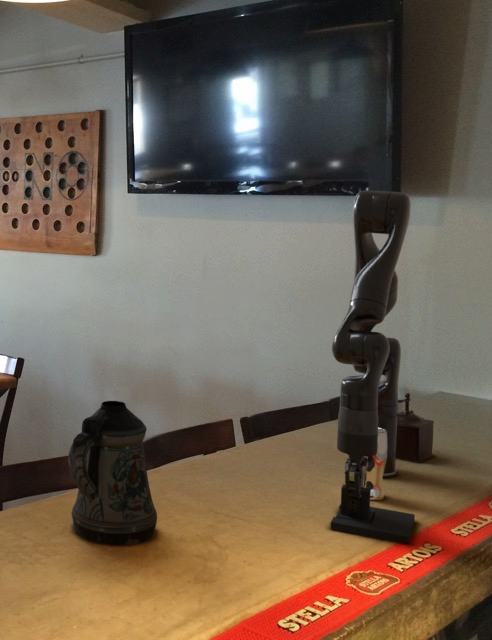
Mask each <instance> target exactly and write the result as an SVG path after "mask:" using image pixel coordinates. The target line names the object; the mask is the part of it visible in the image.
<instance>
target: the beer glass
mask: <svg viewBox="0 0 492 640" xmlns="http://www.w3.org/2000/svg"><path fill="white" fill-rule="evenodd" d="M387 451H388V441H387V430H385V429H383V428H379V427H378V447H377V454H376V455H374V456H368V457H367V459H368V469H367V479H366V485H365V486H364V488H368V489H370V501H381V500H383V499H384V498H385V495H384V489H383V478H384V477H383V473H384V469H385V465H386V460H387ZM365 457H366V456H365Z"/></svg>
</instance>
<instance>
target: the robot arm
mask: <svg viewBox="0 0 492 640" xmlns="http://www.w3.org/2000/svg"><path fill="white" fill-rule="evenodd" d="M410 217H411V199H410V196H409V195H408V194H407V193H406V192H400V191H390V190H389V191H388V190H387V191H386V190H385V191H384V190H372V189H371V190H370V189H368V190H365V189H364V190H360V191H359V192H358V193H357V194H356V195H355V197H354V200H353V206H352V224H353V226H352V227H353V238H354V240H353V241H354V270H353V271H354V273H353V283H352V288H351V293H350V299H349V304H348V308H347V312H346V313H345V316H344V318H343V319H342V322H341V324H340V326H339V327H338V329H337V330H336V333H335V334H334V337H333V340H332V344H331V353H332V356H333V358H334V359H335V360H336V362H338V363H339V364H343V365H351V366H352V367H353V370H354V371H355V372H356V373H360V374H359V375H349V376H344V377H343V378H342V379H341V381H340V391H339V392H340V393H339V396H340V397H339V410H338V414H337V415H338V416H337V438H336V439H337V440H336V441H337V442H336V449H337V450H338V451H339V452H340V453H343V454H346V455H348V457H347V458H346V460H345V461H344V470H345V471H344V485H345V487H346V492H345V494H346V496H347V497H348V507H347V514H348V515H349V516H353V517H358V516H359V514H360V497H361V487H362V488H364V486H365V485H366V479H367V469H368V459H367V457H368V456H374V455H376V454H377V447H378V427H379V428H383V429H385V430H387V441H388V451H387V460H386V465H385V469H384V473H383V478H390V477H394V476H396V475H397V470H396V466H397V465H396V464H397V463H396V462H397V460H396V459H397V458H396V440H397V414H398V410H399V409H398V407H399V403H398V400H399V378H400V371H401V370H400V369H401V359H402V358H401V357H402V347H401V343H400V341H399V340H398V339H397V338H394V337H387V336H386V335H384V333H382V332H379V331H373V330H374V328H375V327H376V326H377V325H379V324H381V323H382V322H384V320H385V318H386V317H387V316H388V315H389V314H390V313H391V311H392V310H393V309H394V307H395V306H396V304H397V300H398V288H399V287H398V285H399V278H398V274H397V272H396V268H397V264H398V261H399V258H400V254H401V251H402V248H403V244H404V241H405V238H406V234H407V231H408V227H409V222H410ZM373 234H379V235H387V239H386V241H385V243H384V245H382V247H381V249H380V248H379V247H378V245H377V243H376V242H375V238H374V236H373ZM382 376H384V377H383V379H382V380H381V378H382ZM380 381H381V382H380ZM365 456H366V457H365ZM351 488H355V489H356V492H355V491H350V489H351Z"/></svg>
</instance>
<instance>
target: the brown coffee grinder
mask: <svg viewBox="0 0 492 640" xmlns="http://www.w3.org/2000/svg"><path fill="white" fill-rule="evenodd" d="M381 381H382V380H380V382H381ZM410 397H411V394H410V393H409V392H406V393H404V398H403V399H398V404H403V403H405V405H404V411H401V412H397V440H396V459H399V460H403V461H409V462H413V463H422V462H423V461H426V460H427V459H429V458H432V457H433V445H434V425H435V424H434V420H430V419H425V418H424V417H422V416H419V415H418V414H416V413H414V410H413V409H411V410H410V402H411V401H412V400H411V398H410Z"/></svg>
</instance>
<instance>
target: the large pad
mask: <svg viewBox="0 0 492 640" xmlns="http://www.w3.org/2000/svg"><path fill="white" fill-rule="evenodd" d="M340 508H341V503H340V504H339V506H338V511H339V510H340ZM370 513H374V518H373V521H372V523H371V524H370V523H364V522H359V521H354V520H348V519H343V518H337V517H336V516H333V517H332V519H331V521H330V530H332V531H338V532H342V533H347V534H348V533H349V534H353V535H358V536H363V537H367V538H368V537H369V538H373V539H379V540H385V541H389V542H394V543H400V544H405V545H410V541H411V538H412V533H413V530H414V529H413V528H414V525H415V518H416V517H415V515H416V514H415V513H409V512H404V511H398V510H392V509H386V508H380V507H375V506H370Z"/></svg>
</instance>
